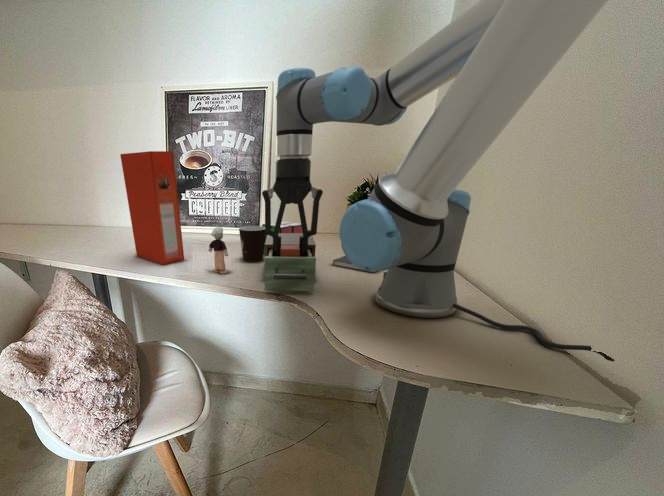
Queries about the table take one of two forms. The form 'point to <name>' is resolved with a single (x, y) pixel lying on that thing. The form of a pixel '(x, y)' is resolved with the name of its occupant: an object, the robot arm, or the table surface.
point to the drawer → (290, 272)
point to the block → (290, 250)
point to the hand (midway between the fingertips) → (289, 264)
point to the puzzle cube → (286, 228)
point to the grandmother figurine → (218, 250)
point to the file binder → (153, 205)
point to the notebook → (347, 264)
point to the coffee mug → (252, 243)
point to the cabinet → (289, 241)
